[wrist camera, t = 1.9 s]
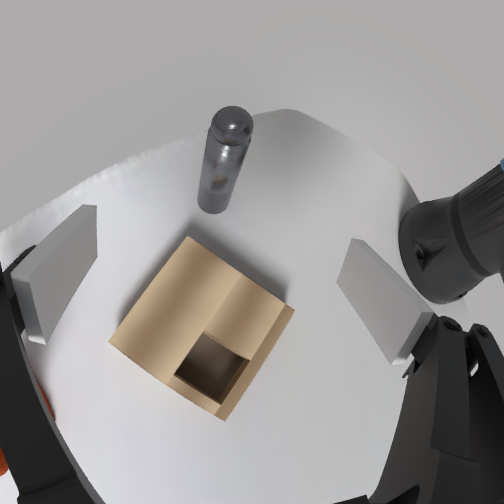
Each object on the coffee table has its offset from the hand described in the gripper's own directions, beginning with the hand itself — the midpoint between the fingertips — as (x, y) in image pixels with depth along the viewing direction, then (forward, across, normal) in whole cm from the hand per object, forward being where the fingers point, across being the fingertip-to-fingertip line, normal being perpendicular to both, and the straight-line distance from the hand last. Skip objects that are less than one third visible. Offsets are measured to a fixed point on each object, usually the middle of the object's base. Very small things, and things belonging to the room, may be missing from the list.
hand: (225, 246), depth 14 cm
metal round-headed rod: (+18, 0, -3) cm, 19 cm away
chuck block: (+9, 0, -13) cm, 16 cm away
